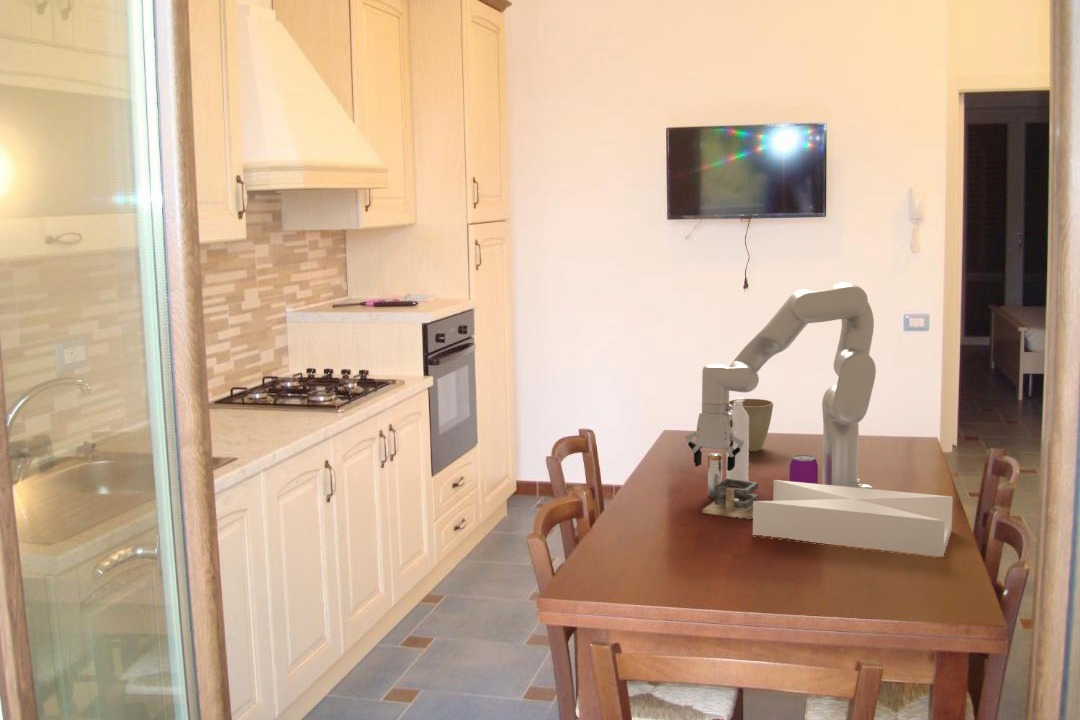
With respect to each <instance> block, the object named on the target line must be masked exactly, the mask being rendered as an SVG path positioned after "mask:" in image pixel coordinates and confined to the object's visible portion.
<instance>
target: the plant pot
mask: <svg viewBox="0 0 1080 720" xmlns="http://www.w3.org/2000/svg"><path fill="white" fill-rule="evenodd" d="M734 401H736V399H731V400H729V403H730V405H731V406H734ZM742 404H743V405H742V406H743V408H744V409H745V411H746V412H747V414H748V416H749V449H748V450H749V451H751V453H752V452H753V451H754V452H760V451H762V449H763V446H764V443H765V442H766V438H767V436H768V432H769V429H770V425H771V419H772V415H773V408H774V402H773V401H772V400H768V399H762V398H745V401H744V402H742ZM729 412H730V411H729ZM759 450H760V451H759Z"/></svg>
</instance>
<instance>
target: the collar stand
mask: <svg viewBox="0 0 1080 720" xmlns="http://www.w3.org/2000/svg"><path fill="white" fill-rule="evenodd" d="M730 485H731V486H732V487H729V486H730ZM757 489H759V482H758V481H747V480H742V479H740V480H734V479H726V478H725V479H724V480H722V482H721V483H720V484H718V485H716V486H715V492H719V493H722V495H720V496H719V497H717V498H714V501H712V502H711V503H710V504H709V505H707V506H705V507H704V508H702V513H703V514H707V515H708V514H709V515H715V516H723V517H730V518H736V517H738V518H737V519H743V518H746V519H745V520H750V519H753V501H759V494H753V493H754V492H755V491H756V490H757Z"/></svg>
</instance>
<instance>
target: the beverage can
mask: <svg viewBox="0 0 1080 720" xmlns="http://www.w3.org/2000/svg"><path fill="white" fill-rule="evenodd" d="M818 475H819V464H818V462H817V459H816V457H815V456H814V455H810V454H795V455H792V458H791V460H790V463H789V476H788V477H789V480H788V481H791V482H802V483H813V484H819V482H818V477H819V476H818Z"/></svg>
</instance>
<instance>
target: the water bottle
mask: <svg viewBox="0 0 1080 720" xmlns="http://www.w3.org/2000/svg"><path fill="white" fill-rule="evenodd" d="M745 399H746V398H745V397H741V396H739V397H736V398H735V400H736V401H734V406H733V407H734V409H733V411H730V412H729V413H731V414H732V418H733V425H734V435H735V436H737V437H738V438H740V439H741V440H743V441H744V442H745V444H744V446H743V447H742V449H741V451H740V452H739V453H737V454H736V455H735V467H734V468H733V469H732V470H730V471H728V470H727V463H726V465H725V466H726V471H725V473H726V476H725V480H726V479H734V480H740V479H742V480H747V481H749V472H750V471H749V467H750V465H749V464H750V462H749V460H750V458H749V456H750V452H749V450H748V449H749V416H748V414H747V412H746V411H745V409H744V408H743V406H742V405H743V404H742V402H744V401H745ZM737 446H738V444H737V443H736V442H734V445H733V446H732V447H733V448H734V449H736V448H737ZM725 452H726V451H725ZM728 457H729V454H728V453H727V452H726V458H725V459H726V460H725V462H727V458H728ZM729 486H731V485H729Z"/></svg>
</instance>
